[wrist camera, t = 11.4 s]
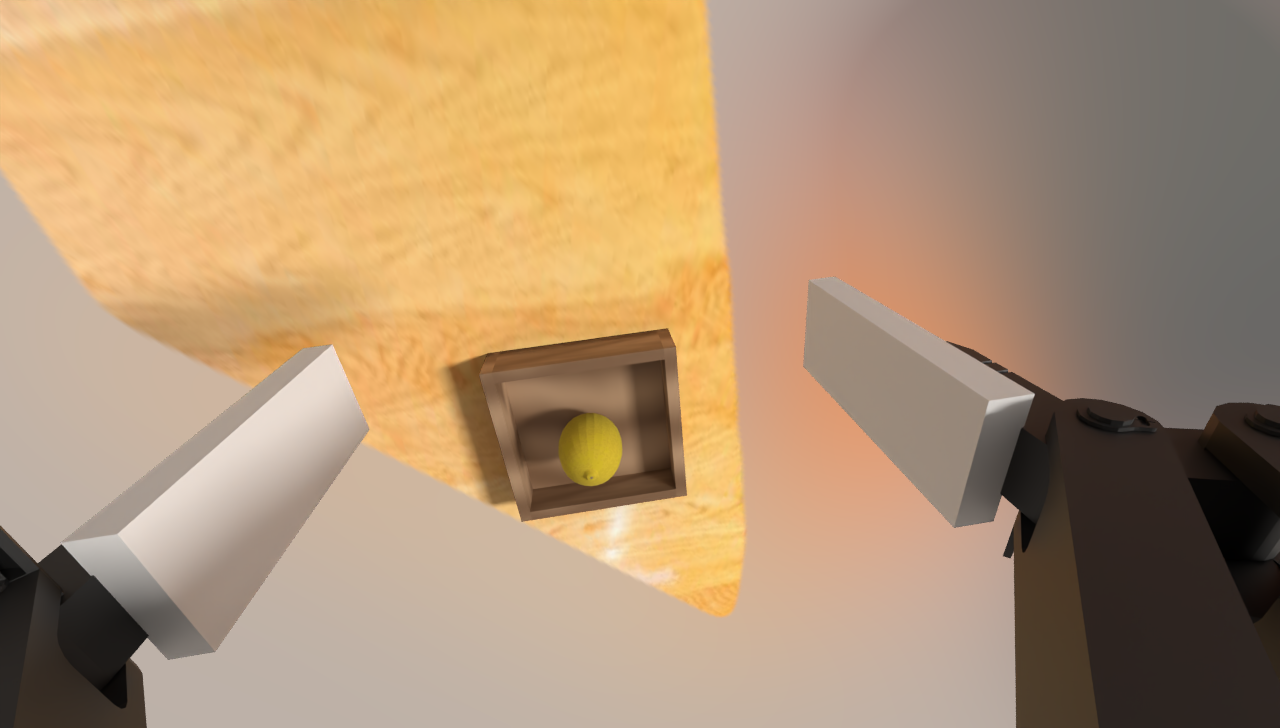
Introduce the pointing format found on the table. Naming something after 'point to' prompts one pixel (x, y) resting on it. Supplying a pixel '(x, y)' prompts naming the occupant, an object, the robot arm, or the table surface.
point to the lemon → (590, 449)
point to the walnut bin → (588, 383)
